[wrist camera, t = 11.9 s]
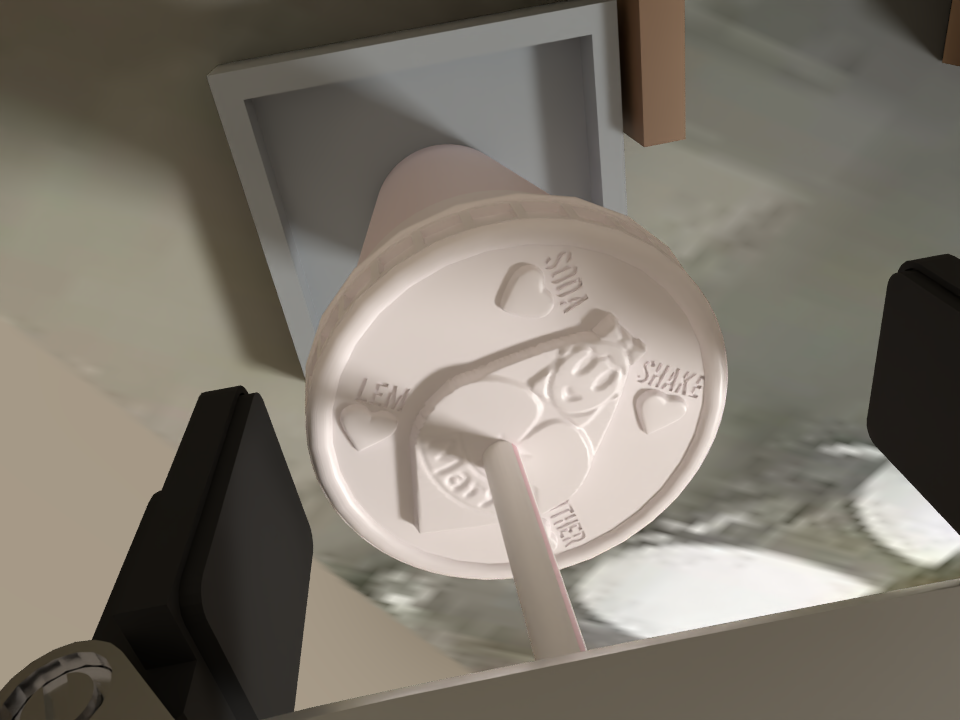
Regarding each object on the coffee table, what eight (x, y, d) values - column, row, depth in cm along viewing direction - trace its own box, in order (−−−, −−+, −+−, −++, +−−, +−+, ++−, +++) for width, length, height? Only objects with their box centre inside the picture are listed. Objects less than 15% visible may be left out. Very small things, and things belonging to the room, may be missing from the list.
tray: (595, -6, 17) (616, -1, 16) (616, 324, 22) (634, 350, 21) (217, 65, 17) (206, 76, 16) (319, 387, 22) (317, 417, 20)
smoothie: (267, 227, 18) (121, 757, 6) (440, 24, 17) (680, 225, 5) (452, 367, 21) (591, 917, 9) (615, 205, 20) (1043, 619, 8)
